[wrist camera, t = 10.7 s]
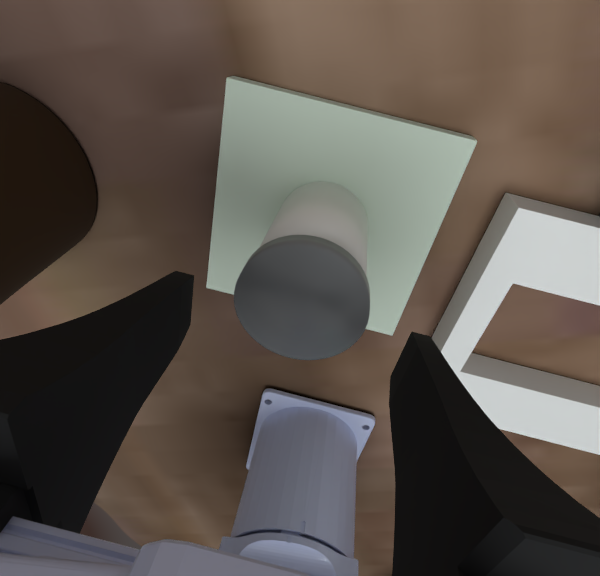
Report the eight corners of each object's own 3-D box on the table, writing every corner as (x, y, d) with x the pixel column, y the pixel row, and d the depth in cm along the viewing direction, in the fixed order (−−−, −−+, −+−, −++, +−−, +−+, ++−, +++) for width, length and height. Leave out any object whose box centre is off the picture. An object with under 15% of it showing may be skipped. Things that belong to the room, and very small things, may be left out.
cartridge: (358, 276, 21) (352, 371, 15) (270, 257, 22) (229, 344, 16) (382, 189, 19) (386, 264, 13) (281, 169, 19) (238, 232, 13)
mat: (391, 324, 24) (392, 335, 23) (211, 278, 24) (206, 287, 23) (472, 136, 18) (477, 141, 17) (233, 75, 18) (226, 77, 17)
